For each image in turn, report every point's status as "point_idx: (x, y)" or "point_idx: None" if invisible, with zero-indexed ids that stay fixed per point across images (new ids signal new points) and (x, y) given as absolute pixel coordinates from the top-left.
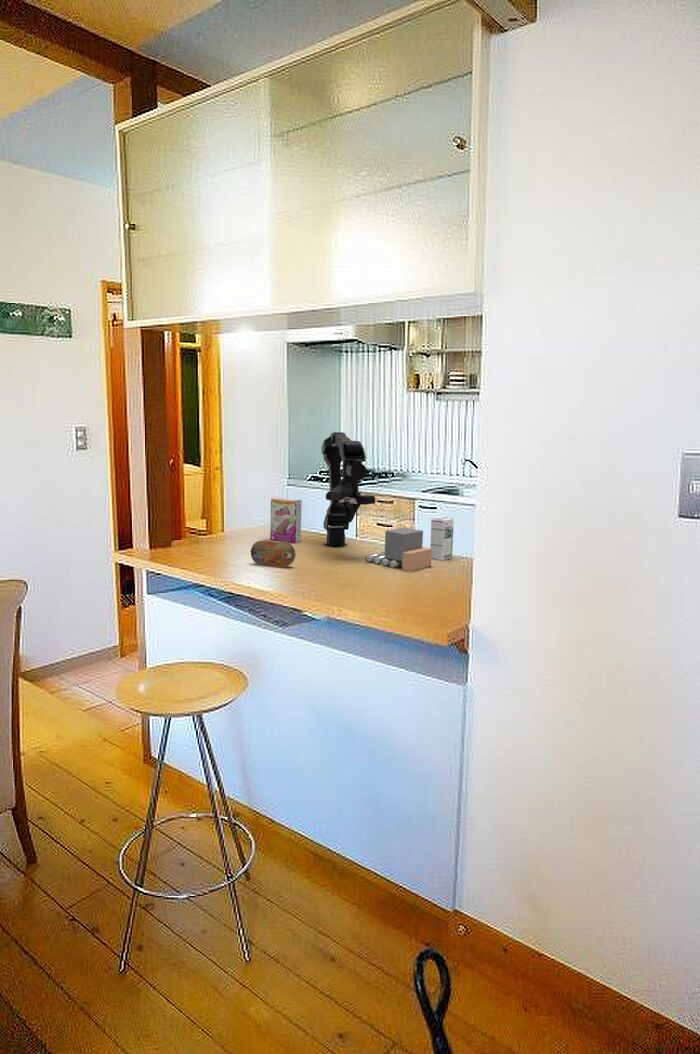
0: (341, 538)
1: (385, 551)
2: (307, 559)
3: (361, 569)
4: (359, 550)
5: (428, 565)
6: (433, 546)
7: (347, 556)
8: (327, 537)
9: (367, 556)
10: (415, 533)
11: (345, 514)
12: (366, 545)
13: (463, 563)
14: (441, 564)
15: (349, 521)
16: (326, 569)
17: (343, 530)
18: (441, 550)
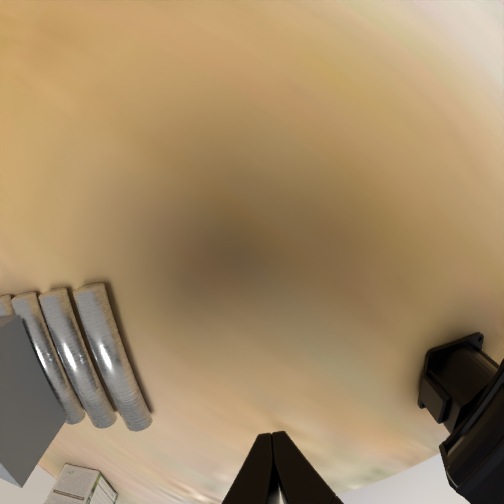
0: (434, 396)
1: (1, 325)
2: (308, 66)
3: (23, 177)
4: (323, 404)
5: None
6: (78, 493)
7: (253, 289)
8: (490, 360)
9: (83, 291)
10: None
11: (322, 480)
12: (366, 455)
13: None
14: None
15: (257, 438)
16: (93, 44)
17: (451, 428)
18: (59, 482)
